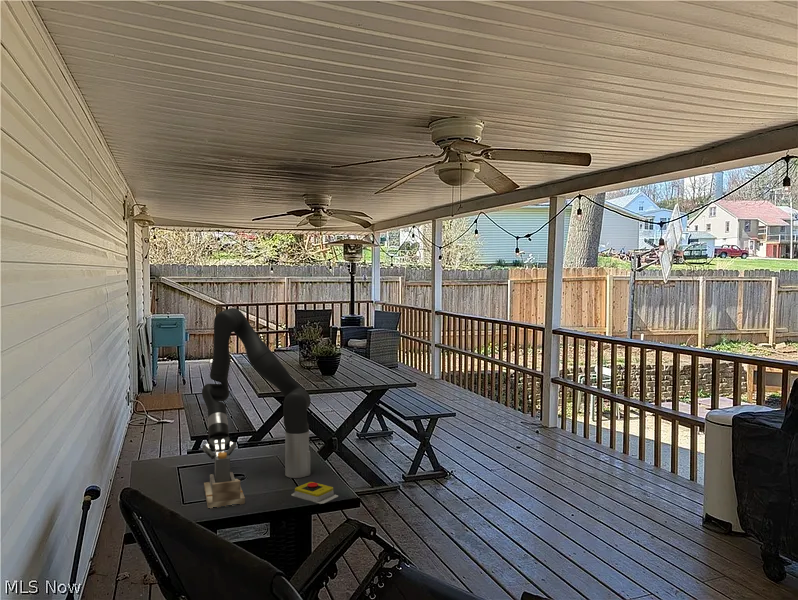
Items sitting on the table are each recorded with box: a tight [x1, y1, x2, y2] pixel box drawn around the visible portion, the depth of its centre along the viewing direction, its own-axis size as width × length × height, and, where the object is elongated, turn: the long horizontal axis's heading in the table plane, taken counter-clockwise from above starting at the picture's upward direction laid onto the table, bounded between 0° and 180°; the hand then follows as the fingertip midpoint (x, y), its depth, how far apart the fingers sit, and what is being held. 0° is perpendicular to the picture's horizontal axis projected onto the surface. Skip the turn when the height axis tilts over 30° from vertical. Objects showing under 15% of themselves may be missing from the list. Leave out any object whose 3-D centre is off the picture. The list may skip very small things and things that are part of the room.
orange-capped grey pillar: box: [214, 451, 231, 483], centre depth 207 cm, size 5×4×12 cm
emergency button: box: [291, 481, 339, 505], centre depth 203 cm, size 9×4×15 cm
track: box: [203, 471, 246, 509], centre depth 202 cm, size 12×21×8 cm, turn 22°
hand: (221, 467), depth 212 cm, fingers closed
